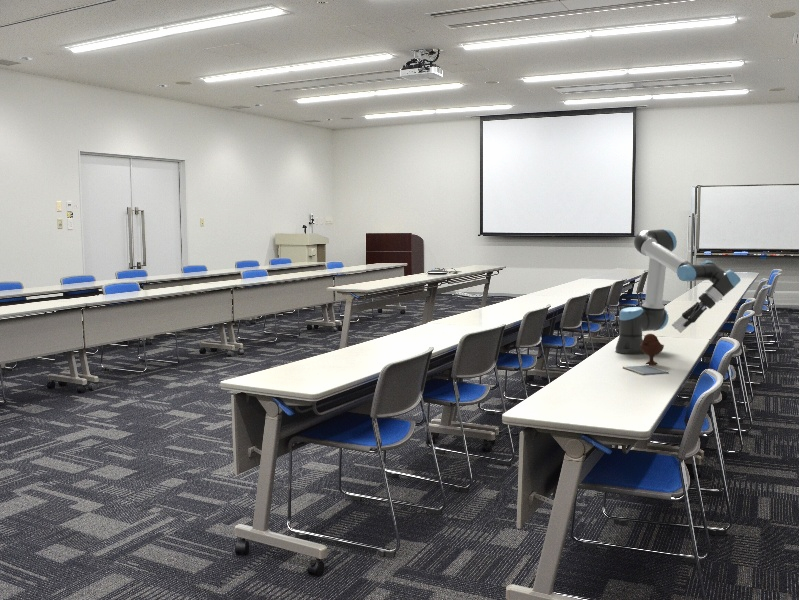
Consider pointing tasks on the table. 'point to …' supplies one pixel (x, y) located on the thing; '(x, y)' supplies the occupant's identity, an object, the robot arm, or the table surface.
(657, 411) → the table surface
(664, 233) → the robot arm
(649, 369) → the rubber sheet
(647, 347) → the ice cream bowl
